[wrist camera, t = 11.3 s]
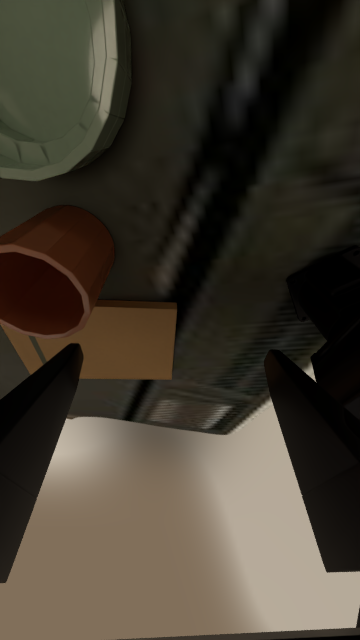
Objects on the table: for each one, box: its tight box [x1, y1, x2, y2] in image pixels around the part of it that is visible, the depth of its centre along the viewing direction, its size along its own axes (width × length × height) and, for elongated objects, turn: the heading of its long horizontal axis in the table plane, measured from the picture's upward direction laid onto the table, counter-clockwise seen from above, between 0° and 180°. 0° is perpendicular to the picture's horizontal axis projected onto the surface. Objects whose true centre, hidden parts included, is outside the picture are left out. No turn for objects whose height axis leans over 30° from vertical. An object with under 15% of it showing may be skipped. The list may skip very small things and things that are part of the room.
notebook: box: [0, 300, 177, 379], centre depth 26 cm, size 12×18×1 cm
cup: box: [0, 205, 115, 339], centre depth 16 cm, size 6×6×8 cm
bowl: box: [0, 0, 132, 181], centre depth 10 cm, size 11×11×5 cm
